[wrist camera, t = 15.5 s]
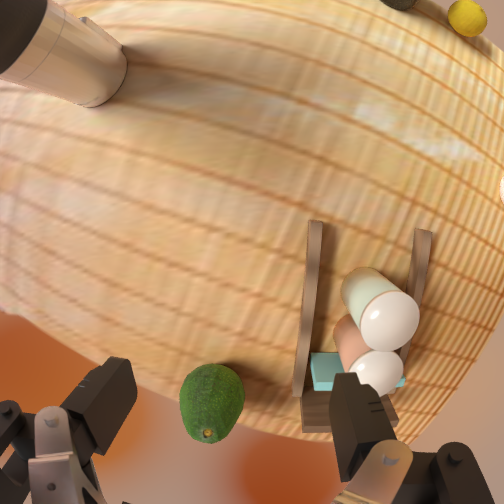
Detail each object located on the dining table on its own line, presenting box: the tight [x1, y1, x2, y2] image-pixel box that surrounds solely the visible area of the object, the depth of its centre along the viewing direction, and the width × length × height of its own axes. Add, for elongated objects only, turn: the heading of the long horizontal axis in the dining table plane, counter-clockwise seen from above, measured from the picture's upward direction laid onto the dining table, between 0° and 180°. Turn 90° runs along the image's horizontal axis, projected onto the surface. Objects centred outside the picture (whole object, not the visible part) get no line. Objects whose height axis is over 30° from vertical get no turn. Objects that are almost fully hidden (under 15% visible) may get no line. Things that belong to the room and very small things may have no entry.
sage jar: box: [341, 267, 420, 352], centre depth 28 cm, size 6×6×10 cm
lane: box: [292, 220, 432, 433], centre depth 30 cm, size 23×14×8 cm, turn 178°
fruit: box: [179, 364, 245, 444], centre depth 31 cm, size 8×8×12 cm
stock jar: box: [333, 314, 403, 397], centre depth 29 cm, size 6×6×10 cm
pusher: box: [310, 353, 406, 391], centre depth 32 cm, size 8×11×6 cm
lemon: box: [448, 0, 487, 37], centre depth 20 cm, size 6×6×8 cm
